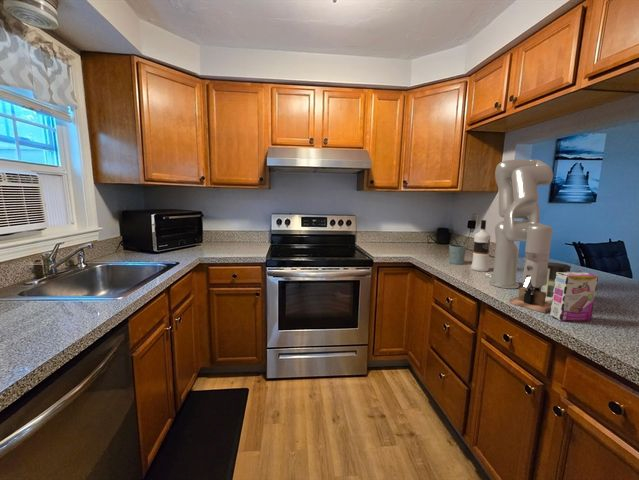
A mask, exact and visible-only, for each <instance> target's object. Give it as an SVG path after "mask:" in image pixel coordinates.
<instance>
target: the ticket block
mask: <svg viewBox="0 0 639 480" xmlns="http://www.w3.org/2000/svg"><path fill="white" fill-rule="evenodd" d="M545 303H546V304H550V305H551V304H552V298H548V297H546V299H545Z"/></svg>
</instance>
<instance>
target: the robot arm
mask: <svg viewBox="0 0 639 480" xmlns="http://www.w3.org/2000/svg"><path fill="white" fill-rule="evenodd" d="M553 177H554V173H553V169H552V167H550V165H548V164H547V163H545V162H544V161H542V160H540V159H509V160H502V161H500V162H499V163H498V164H497V165H496V167H495V172H494V179H495V182H496V185H497V189H498V213H499V214H498V215H499V216H500V217H501V218H503V221H499V222H498V223H497V224H496V225H495V227H494V234H495V249H494V250H495V251H494V262H493V272H492V273H488V272H486V273H485V278H488V279H489V281H488V284H490V285H491V286H493V287H497V288H501V289H502V288H503V289H512V290H513V289H514V290H515V289H518V288H519V289H520V284H519V283H517V282H516V281H517V274H518V272H517V271H518V263H519V255H520V254H519V248H518V246H517V245H516V243H515V242H525V249H524V250H525V251H524V261H525V263H524V268H523V275H522V285H523V286H522V287H523V288H524V290H525V291H524V293H525V294H524V303H527V304H531V305H533V304H534V297H535V295H533V294H534V290H537V291H541V287H542V286H544V285H546V284H547V275H548V262H550V253H551V243H552V236H553V228H552V226H550V225H548V224H547V225H546V224H543V223H540V214H541V213H540V205H539V202H538V201H539V198H540V196H539V191H538V187H544V186H548V185H550V184H551V183H552V181H553ZM515 219H521V220H515ZM522 219H523V221H522ZM531 289H532V290H531Z"/></svg>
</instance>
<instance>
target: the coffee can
mask: <svg viewBox="0 0 639 480" xmlns="http://www.w3.org/2000/svg"><path fill="white" fill-rule="evenodd" d="M571 268H572V266H571V265H569V264H564V263H561V262H560V263H559V262H552V261H551V262H550V261H549V262H548V275H547V284H546V285H544V286H542V287H541V291H542V292H546V297H548V298H552V297H553V290H554V283H555V276H556V272H571Z"/></svg>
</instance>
